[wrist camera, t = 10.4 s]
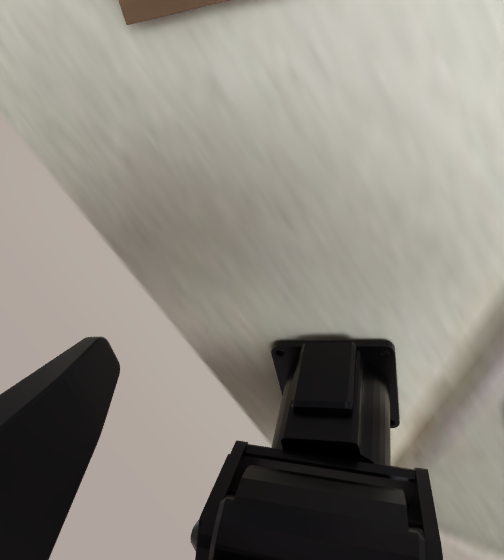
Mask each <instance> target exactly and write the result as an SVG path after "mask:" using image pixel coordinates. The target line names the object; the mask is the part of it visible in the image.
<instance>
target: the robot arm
mask: <svg viewBox="0 0 504 560" xmlns="http://www.w3.org/2000/svg"><path fill="white" fill-rule="evenodd" d="M279 350H282V351H279ZM382 350H388V351H386V352H384V351H382ZM271 353H272V357H273V361H274V365H275V368H276V372H277V376H278V380H279V384H280V387H281V391H282V395H283V398H282V402H281V407H280V411H279V416H278V420H277V425H276V430H275V434H274V439H273V443H272V448H270V447H263V446H257V445H250V444H248V442H243V441H236V442H235V445H234V447H233V449H232V451H231V454H228V456H227V458H226V460H225V463H224V465H223V467H222V469H221V471H220V474H219V476H218V478H217V480H216V482H215V485H214V487H213V489H212V491H211V494H210V496H209V498H208V500H207V503H206V505H205V507H204V509H203V511H202V514H201V516H200V519H199V520H198V522H197V523H196V524H195V526H194V528H193V530H192V533H191V543H192V545H193V547H194V549H195V551H196V559H195V560H443V555H442V547H441V541H440V535H439V530H438V524H437V518H436V513H435V507H434V502H433V496H432V490H431V485H430V479H429V474H428V469H422V468H414V469H408V468H401V467H395V466H390V428H395V427H398V426H399V423H400V420H399V403H398V387H397V371H396V356H395V347H394V345H393V344H392V343H391V342H388V341H280V342H276V343H274V345H273V347H272V351H271ZM119 373H120V365H119V362H118V360H117V358H116V356H115V354H114V352H113V350H112V348H111V346H110V344H109V342H108V341H107V340H106V339H105V338H103V337H87V338H85V339H83V340H82V341H80V342H78V343H77V344H75V345H74V346H73V347H71V348H70V349H68V350H66V351H65V352H63V353H62V354H60V355H59V356H57V357H56V358H54V359H53V360H51V361H50V362H49V363H47V364H45V365H44V366H43V367H41V368H39V369H38V370H36V371H35V372H34V373H32V374H31V375H29V376H28V377H26V378H24V379H23V380H21V381H20V382H19V383H17V384H16V385H14V386H13V387H11V388H10V389H8V390H7V391H5V392H4V393H2V394H1V395H0V560H49V557H50V555H51V552H52V550H53V547H54V545H55V543H56V540H57V538H58V536H59V533H60V531H61V528H62V526H63V524H64V521H65V519H66V517H67V514H68V512H69V509H70V507H71V505H72V502H73V500H74V498H75V495H76V493H77V490H78V488H79V485H80V483H81V481H82V478H83V476H84V474H85V471H86V469H87V466H88V464H89V462H90V459H91V457H92V454H93V452H94V450H95V447H96V445H97V442H98V440H99V437H100V435H101V432H102V429H103V426H104V423H105V419H106V416H107V413H108V409H109V406H110V403H111V400H112V396H113V393H114V390H115V387H116V384H117V380H118V377H119Z"/></svg>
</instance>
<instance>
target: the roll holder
mask: <svg viewBox="0 0 504 560" xmlns="http://www.w3.org/2000/svg"><path fill="white" fill-rule="evenodd" d="M225 1H229V0H119V3H120V6H121V9H122V12H123V15H124V18H125V21H126V24H127V25H129V24H133V23H137V22H142V21H146V20H150V19H154V18H158V17H162V16H166V15H171V14H175V13H179V12H183V11H187V10H191V9H196V8H200V7H204V6H208V5H212V4H216V3H220V2H225Z"/></svg>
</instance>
